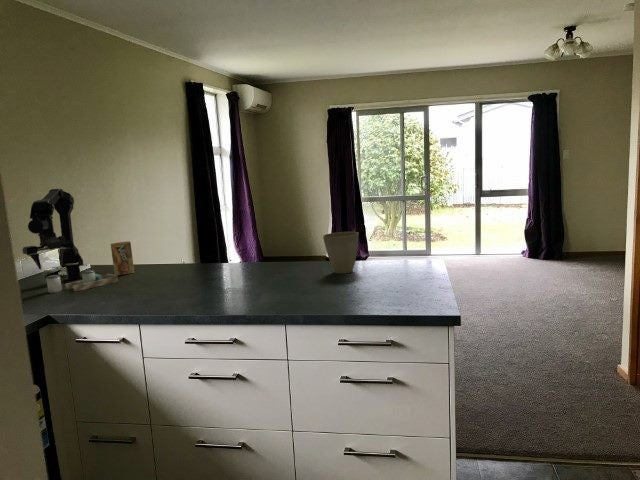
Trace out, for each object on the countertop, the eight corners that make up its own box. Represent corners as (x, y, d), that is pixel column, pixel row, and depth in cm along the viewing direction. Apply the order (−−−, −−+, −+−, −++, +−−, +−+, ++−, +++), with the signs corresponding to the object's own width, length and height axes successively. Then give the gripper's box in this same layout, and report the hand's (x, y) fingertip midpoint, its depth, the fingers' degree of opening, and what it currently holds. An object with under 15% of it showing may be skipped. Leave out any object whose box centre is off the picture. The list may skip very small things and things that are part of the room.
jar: (46, 291, 222) (44, 276, 221) (59, 289, 226) (56, 274, 225) (51, 293, 219) (48, 278, 218) (63, 290, 222) (61, 275, 221)
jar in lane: (81, 286, 227) (79, 272, 226) (93, 284, 231) (91, 269, 230) (86, 288, 224) (84, 273, 223) (98, 285, 227) (96, 270, 226)
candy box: (133, 271, 254) (129, 240, 252) (134, 273, 250) (130, 241, 248) (114, 274, 250) (110, 243, 248) (115, 275, 246) (110, 244, 244)
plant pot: (362, 267, 224) (360, 230, 222) (359, 275, 210) (356, 236, 207) (328, 268, 227) (326, 232, 225) (322, 276, 213) (320, 237, 210)
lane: (75, 291, 218) (74, 284, 218) (66, 289, 224) (65, 282, 224) (118, 281, 232) (117, 275, 231) (108, 279, 238) (107, 273, 237)
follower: (100, 284, 227) (98, 275, 227) (93, 283, 231) (92, 274, 231) (102, 284, 228) (101, 275, 227) (96, 282, 232) (95, 273, 232)
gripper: (29, 234, 206) (35, 273, 209) (76, 228, 220) (82, 264, 222) (19, 233, 214) (25, 270, 216) (65, 227, 227) (71, 262, 230)
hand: (51, 267), depth 221 cm, fingers open, 9 cm apart
